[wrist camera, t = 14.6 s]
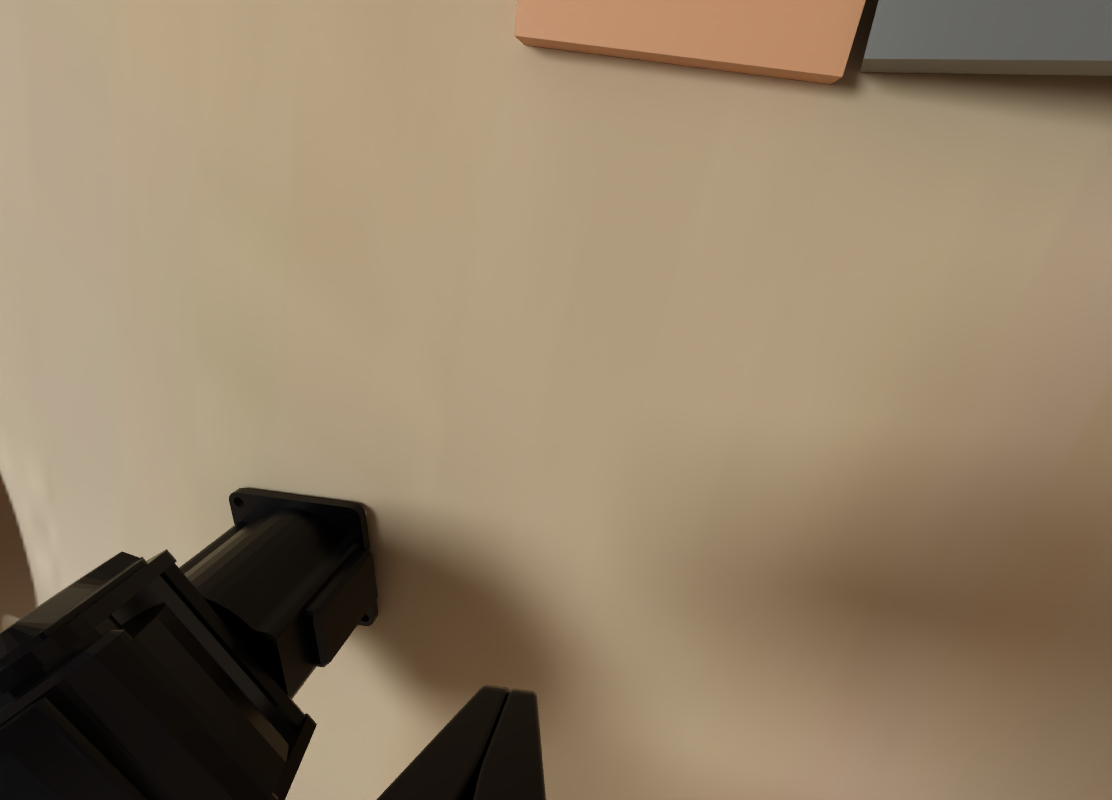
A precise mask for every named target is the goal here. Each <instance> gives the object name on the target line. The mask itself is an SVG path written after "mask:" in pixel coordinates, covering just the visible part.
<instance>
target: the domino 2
mask: <svg viewBox="0 0 1112 800" xmlns="http://www.w3.org/2000/svg"><path fill="white" fill-rule="evenodd" d="M861 72H899V73H964V74H1029V75H1094V76H1112V0H879V1H878V5H877V9H876V12H875V16H874V20H873V24H872V28H871V32H870V35H869V39H868V43H867V47H866V51H865V55H864V59H863V63H862V67H861Z"/></svg>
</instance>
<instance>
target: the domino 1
mask: <svg viewBox="0 0 1112 800" xmlns="http://www.w3.org/2000/svg"><path fill="white" fill-rule="evenodd" d="M865 1H866V0H518V4H517V15H516V25H515V35H514V36H515V37H516V38H518V39H519V40H520V41H521V42H522V43H523V44H524V45H530V46H538V47H546V48H553V49H561V50H569V51H577V52H584V53H592V54H600V55H608V56H615V57H623V58H631V59H639V60H646V61H654V62H662V63H670V64H677V65H685V66H693V67H701V68H709V69H716V70H724V71H732V72H740V73H747V74H755V75H763V76H771V77H778V78H786V79H794V80H802V81H809V82H817V83H825V84H832V83H834V82H835V81H837V80H838V79H840V78H841V77H842V76H843V73H844V70H845V66H846V63H847V60H848V57H849V53H850V50H851V47H852V43H853V40H854V37H855V34H856V30H857V27H858V24H859V20H860V17H861V14H862V11H863V7H864V4H865Z"/></svg>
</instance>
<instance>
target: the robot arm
mask: <svg viewBox="0 0 1112 800" xmlns="http://www.w3.org/2000/svg"><path fill="white" fill-rule="evenodd" d="M229 502H230V506H231V511H232V515H233V520H234V524H235V526H233V527H232V528H231V529H229V530H228V531H227V532H225V533H224V534H223V535H222V536H220V537H219V538H218V539H216V540H215V541H214V542H212V543H211V544H210V545H208V546H207V547H206V548H205V549H203V550H202V551H201V552H199V553H198V554H197V555H195V556H194V557H193V558H191V559H190V560H189V561H188V562H186V563H185V564H184V565H182V566H181V567H180V568H178V566H177V565H176V564H175V562H176V559H175V558H174V557H173V556H172V555H171V554H170V552H169V551H168V550H165V551H163V552H161V553H159V554H158V555H156V556H154V557H152V558H151V559H149V560H147V561H145V559H144V558H143V557H141V558H139V557H136V556H133V555H130V554H127V553H125V552H120V553H119V554H117V555H115V556H114V557H112V558H111V559H109V560H108V561H106V562H104V563H103V564H101V565H100V566H98V567H97V568H95V569H94V570H92V571H91V572H89V573H88V574H86V575H85V576H83V577H82V578H80V579H79V580H77V581H75V582H74V583H72V584H71V585H69V586H68V587H66V588H65V589H63V590H62V591H60V592H59V593H57V594H56V595H54V596H53V597H52V598H50V599H49V600H47V601H46V602H44V603H43V604H41V605H40V606H38V607H37V608H36V609H34V610H33V611H31V612H30V613H28V614H27V615H25V616H24V617H23V618H21V619H20V620H18V621H17V622H15V623H14V624H12V625H11V626H9V627H8V628H7V629H5V630H4V631H2V632H1V633H0V800H285V798H286V796H287V794H288V791H289V789H290V787H291V784H292V782H293V779H294V777H295V775H296V772H297V770H298V768H299V765H300V763H301V761H302V758H303V756H304V754H305V751H306V749H307V747H308V744H309V742H310V740H311V737H312V735H313V732H314V730H315V728H316V725H317V724H316V723H315V722H314V720H313V719H312V718H311V717H310V716H309V715H308V714H304V713H303V712H302V711H301V710H300V708H299V707H298V706H297V705H296V704H295V703H294V701H293V700H292V698H293V697H294V696H295V694H296V693H297V692H298V690H299V689H300V688H301V686H302V685H303V684H304V682H305V681H306V680H307V678H308V677H309V676H310V674H311V673H312V672H313V670H314V669H315V668H316V666H318V667H325V666H326V665H327V664H329V663H330V662H331V661H332V659H333V658H334V656H335V655H336V654H337V652H338V651H339V650H340V648H341V647H342V645H343V644H344V643H345V641H346V640H347V639H348V637H349V636H350V634H351V633H352V632H353V630H354V629H355V628H356V626H357V625H363V626H370V625H372V624H373V622H374V621H375V619H376V618H377V616H378V609H377V601H376V599H377V588H376V580H375V572H374V564H373V556H372V553H371V551H370V545H369V538H368V530H367V522H366V514H365V511H364V509H363V508H362V507H361V506H360V505H359V504H356V503H352V502H345V501H337V500H330V499H322V498H315V497H307V496H300V495H292V494H285V493H277V492H270V491H262V490H254V489H247V488H239V489H238V490H236V491H235V492H233V493H232V494H230V496H229ZM350 513H352V514H353V515H354V516H355V517H353V516H352V515H351V514H350ZM377 800H546V796H545V784H544V773H543V761H542V750H541V738H540V727H539V716H538V704H537V695H536V693H535V692H533V691H527V690H520V689H512V690H511V691H510V690H509V689H508V688H506V687H499V686H492V685H486V686H483V687H482V688H481V689H480V690H479V691H478V692H477V693H476V694H475V695H474V696H473V697H472V698H471V699H470V700H469V701H468V703H467V704H466V705H465V706H464V707H463V708H462V709H461V710H460V711H459V712H458V713H457V714H456V715H455V716H454V717H453V719H452V720H451V721H450V722H449V723H448V724H447V725H446V726H445V727H444V728H443V729H442V730H441V731H440V732H439V734H438V735H437V736H436V737H435V738H434V739H433V740H432V741H431V742H430V743H429V744H428V745H427V746H426V747H425V748H424V750H423V751H422V752H421V753H420V754H419V755H418V756H417V757H416V758H415V759H414V760H413V761H412V762H411V763H410V765H409V766H408V767H407V768H406V769H405V770H404V771H403V772H402V773H401V774H400V775H399V776H398V777H397V778H396V779H395V781H394V782H393V783H392V784H391V785H390V786H389V787H388V788H387V789H386V790H385V791H384V792H383V793H382V794H381V795H380V797H379V798H378V799H377Z"/></svg>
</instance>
